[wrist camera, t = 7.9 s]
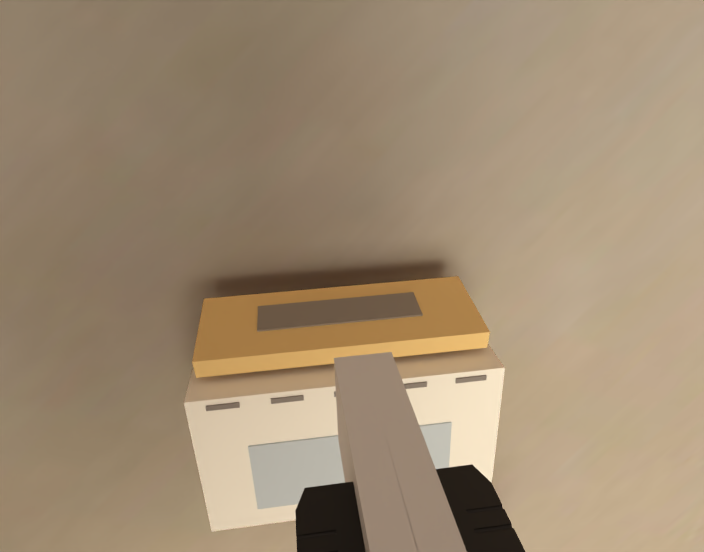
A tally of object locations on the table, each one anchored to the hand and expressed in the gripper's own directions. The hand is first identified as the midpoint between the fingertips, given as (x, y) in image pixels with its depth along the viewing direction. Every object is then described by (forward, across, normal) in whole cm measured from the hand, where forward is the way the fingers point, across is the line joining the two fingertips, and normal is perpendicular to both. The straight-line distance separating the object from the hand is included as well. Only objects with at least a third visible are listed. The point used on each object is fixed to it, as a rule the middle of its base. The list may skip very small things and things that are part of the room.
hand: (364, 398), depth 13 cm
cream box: (+22, +1, -14) cm, 26 cm away
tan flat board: (+17, +1, -8) cm, 18 cm away
